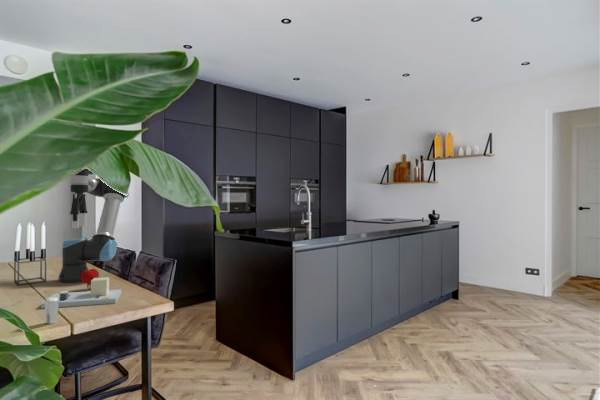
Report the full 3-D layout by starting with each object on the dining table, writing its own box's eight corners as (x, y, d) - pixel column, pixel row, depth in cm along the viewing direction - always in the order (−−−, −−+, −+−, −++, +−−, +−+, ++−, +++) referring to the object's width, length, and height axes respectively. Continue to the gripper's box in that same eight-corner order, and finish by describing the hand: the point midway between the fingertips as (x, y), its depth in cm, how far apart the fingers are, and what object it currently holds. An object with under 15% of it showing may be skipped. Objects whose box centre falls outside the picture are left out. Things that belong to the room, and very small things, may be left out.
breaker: (61, 298, 157) (61, 291, 157) (68, 297, 158) (68, 290, 158) (59, 299, 155) (59, 292, 155) (66, 299, 155) (66, 292, 155)
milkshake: (55, 324, 130) (55, 297, 130) (40, 324, 131) (41, 296, 131) (64, 320, 135) (64, 294, 135) (50, 320, 135) (50, 293, 135)
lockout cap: (93, 292, 168) (94, 277, 168) (109, 291, 170) (109, 277, 170) (90, 296, 162) (91, 280, 162) (106, 294, 164) (106, 280, 164)
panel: (53, 297, 165) (54, 293, 165) (121, 293, 175) (121, 289, 175) (40, 308, 149) (40, 303, 149) (115, 303, 159) (115, 298, 159)
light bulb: (88, 292, 176) (88, 271, 176) (76, 291, 178) (76, 271, 178) (102, 287, 186) (102, 268, 186) (90, 286, 187) (91, 267, 187)
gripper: (77, 185, 190) (76, 225, 190) (63, 183, 166) (62, 229, 166) (93, 185, 192) (92, 225, 192) (82, 183, 169) (81, 228, 169)
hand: (78, 227), depth 179 cm, fingers open, 13 cm apart
